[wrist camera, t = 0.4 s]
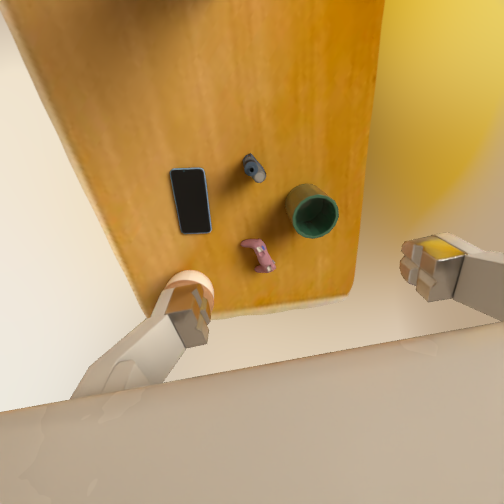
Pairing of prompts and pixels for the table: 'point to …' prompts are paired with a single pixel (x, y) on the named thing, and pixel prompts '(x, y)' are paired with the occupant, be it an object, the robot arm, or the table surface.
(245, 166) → the vaping device
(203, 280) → the lidded bowl
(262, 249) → the video game controller
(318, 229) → the pen cup
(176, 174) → the smartphone
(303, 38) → the table surface
